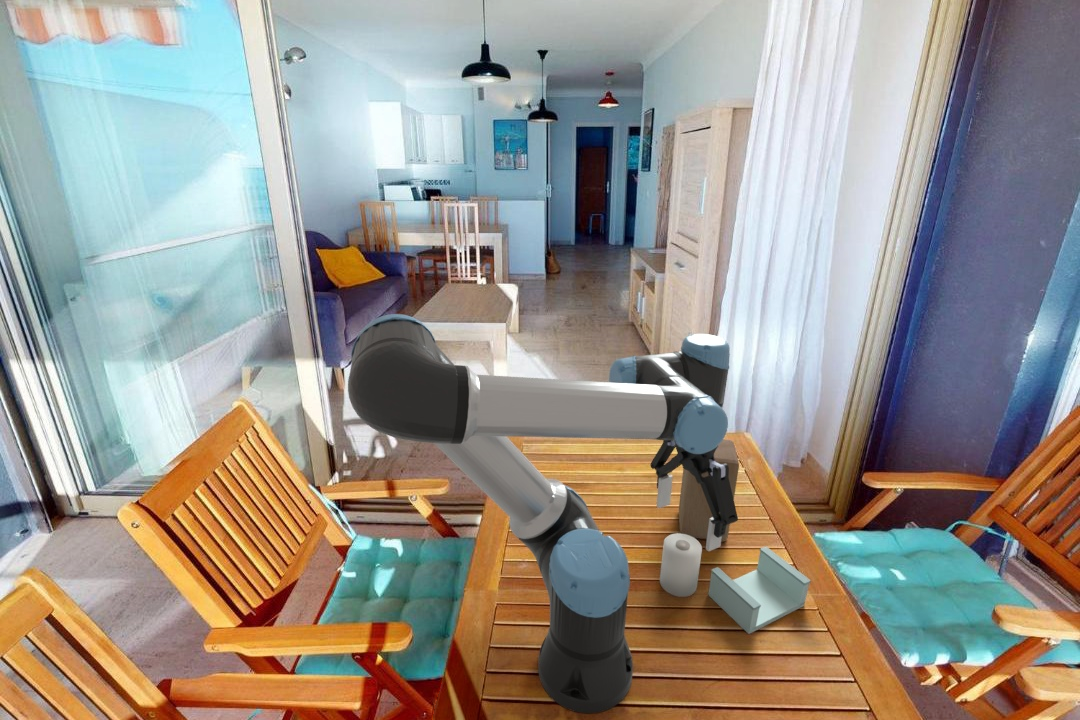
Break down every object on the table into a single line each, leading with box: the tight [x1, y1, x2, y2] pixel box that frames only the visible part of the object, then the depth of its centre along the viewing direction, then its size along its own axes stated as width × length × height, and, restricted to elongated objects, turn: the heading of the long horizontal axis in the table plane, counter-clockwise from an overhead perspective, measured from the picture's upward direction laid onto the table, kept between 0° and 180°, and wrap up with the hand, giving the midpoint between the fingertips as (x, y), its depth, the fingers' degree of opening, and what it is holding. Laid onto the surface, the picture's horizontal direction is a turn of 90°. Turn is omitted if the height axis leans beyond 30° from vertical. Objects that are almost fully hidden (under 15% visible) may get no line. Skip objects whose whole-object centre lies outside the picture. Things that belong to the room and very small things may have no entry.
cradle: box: [707, 546, 812, 635], centre depth 102 cm, size 14×10×6 cm
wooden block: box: [678, 439, 740, 542], centre depth 120 cm, size 10×10×20 cm
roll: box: [659, 532, 703, 598], centre depth 106 cm, size 7×7×9 cm
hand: (686, 525), depth 102 cm, fingers open, 13 cm apart
